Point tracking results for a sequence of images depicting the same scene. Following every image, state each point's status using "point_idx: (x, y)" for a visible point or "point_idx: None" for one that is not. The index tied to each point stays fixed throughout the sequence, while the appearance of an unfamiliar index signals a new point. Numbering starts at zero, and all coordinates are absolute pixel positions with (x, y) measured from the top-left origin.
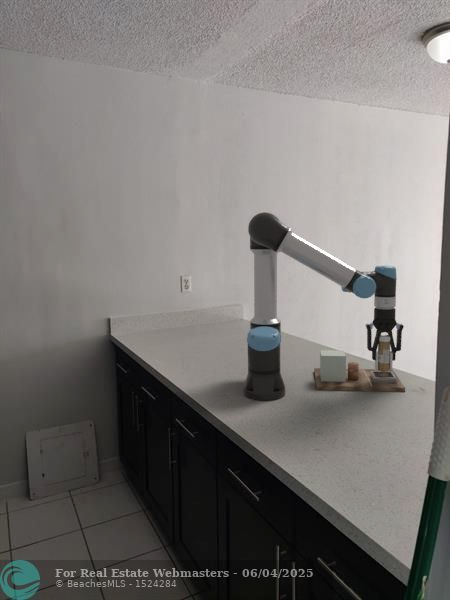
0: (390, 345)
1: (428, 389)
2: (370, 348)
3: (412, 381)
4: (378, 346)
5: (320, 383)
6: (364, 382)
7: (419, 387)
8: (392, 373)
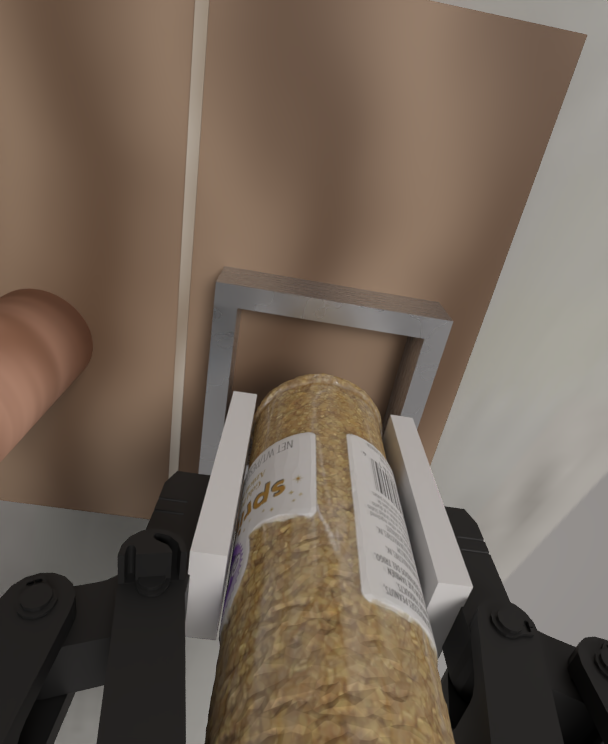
0: (477, 721)
1: (573, 507)
2: (52, 699)
3: (584, 344)
4: (209, 720)
5: None
6: (132, 434)
7: (540, 470)
8: (417, 389)
